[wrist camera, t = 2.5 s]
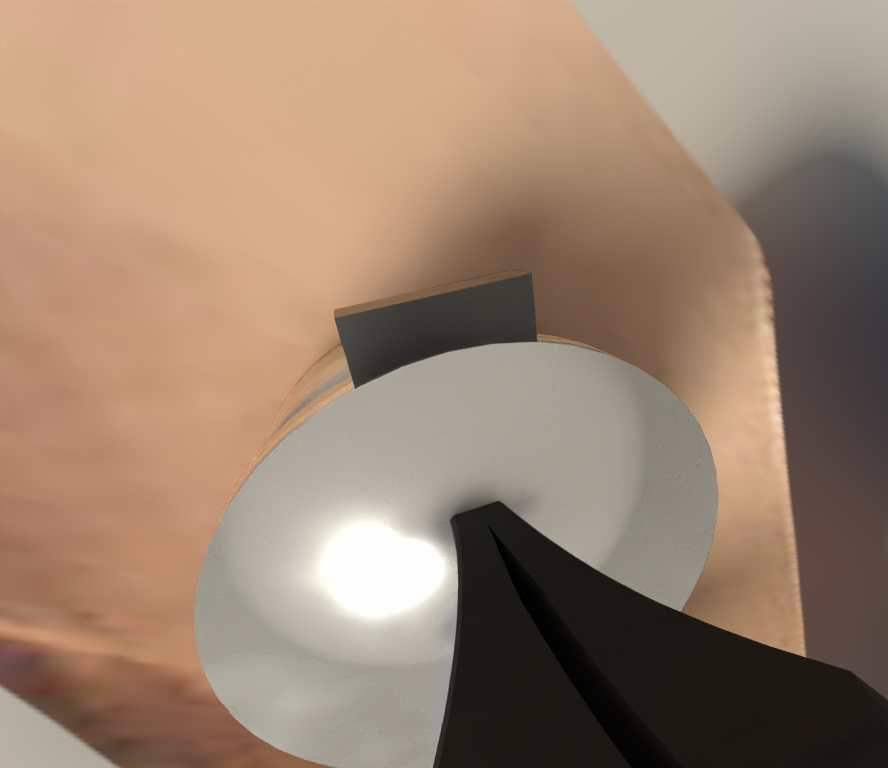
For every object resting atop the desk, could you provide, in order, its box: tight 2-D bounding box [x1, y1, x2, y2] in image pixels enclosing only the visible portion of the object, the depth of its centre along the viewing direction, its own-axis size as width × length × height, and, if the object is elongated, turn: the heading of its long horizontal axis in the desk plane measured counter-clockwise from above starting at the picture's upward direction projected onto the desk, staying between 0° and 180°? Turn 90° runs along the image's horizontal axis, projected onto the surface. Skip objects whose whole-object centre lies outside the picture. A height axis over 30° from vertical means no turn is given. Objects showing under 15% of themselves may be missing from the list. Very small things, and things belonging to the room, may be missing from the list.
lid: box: [194, 269, 718, 768], centre depth 11 cm, size 16×15×2 cm
